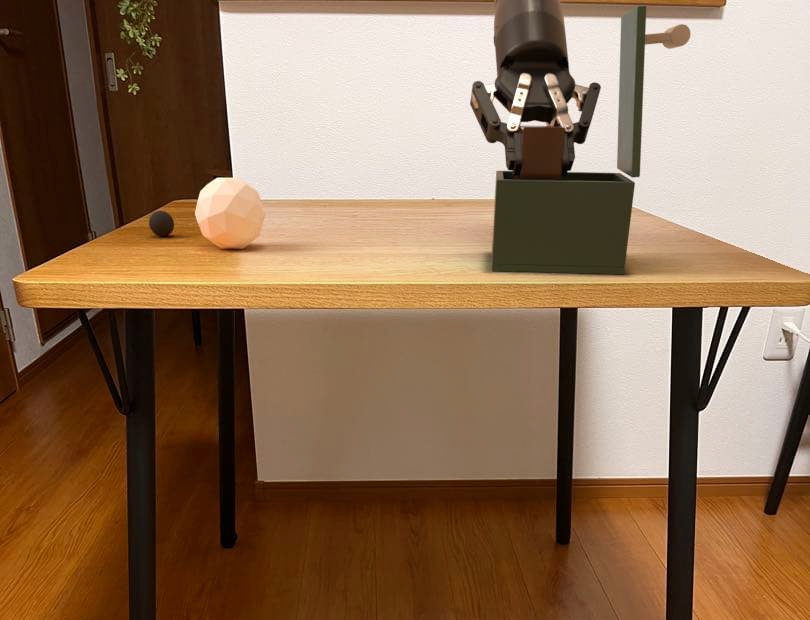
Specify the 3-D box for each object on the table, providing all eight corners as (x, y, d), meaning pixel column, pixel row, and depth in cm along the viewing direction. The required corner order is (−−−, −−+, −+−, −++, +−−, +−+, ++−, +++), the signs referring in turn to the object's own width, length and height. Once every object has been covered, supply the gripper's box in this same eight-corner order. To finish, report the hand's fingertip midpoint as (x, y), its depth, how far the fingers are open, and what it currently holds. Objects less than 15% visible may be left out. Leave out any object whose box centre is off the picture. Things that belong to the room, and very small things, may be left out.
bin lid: (637, 6, 78) (699, -1, 78) (621, 15, 89) (675, 10, 88) (631, 177, 85) (688, 173, 84) (616, 168, 95) (668, 164, 94)
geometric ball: (252, 272, 103) (284, 217, 98) (188, 252, 98) (218, 193, 93) (240, 231, 106) (270, 176, 102) (178, 209, 102) (206, 151, 97)
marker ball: (180, 236, 109) (177, 210, 108) (161, 239, 107) (158, 212, 106) (164, 233, 111) (161, 208, 109) (145, 236, 108) (142, 210, 107)
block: (550, 217, 95) (557, 125, 91) (557, 223, 91) (565, 127, 87) (511, 217, 95) (516, 125, 90) (517, 222, 91) (523, 127, 87)
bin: (491, 270, 90) (496, 179, 86) (491, 252, 100) (496, 170, 96) (624, 274, 89) (635, 182, 85) (610, 255, 99) (620, 172, 95)
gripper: (467, 7, 90) (475, 142, 85) (604, 9, 91) (621, 143, 85) (460, 67, 97) (467, 195, 92) (587, 68, 98) (601, 196, 93)
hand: (541, 169), depth 89 cm, fingers closed on block, 4 cm apart
